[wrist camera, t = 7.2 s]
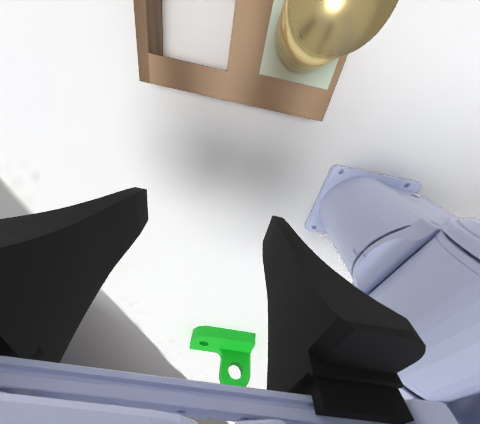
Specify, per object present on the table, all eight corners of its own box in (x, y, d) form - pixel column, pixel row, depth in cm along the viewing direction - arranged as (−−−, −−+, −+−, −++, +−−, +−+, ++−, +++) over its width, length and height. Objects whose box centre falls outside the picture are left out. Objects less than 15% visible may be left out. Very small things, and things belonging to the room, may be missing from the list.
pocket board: (368, -36, 12) (394, -66, 10) (312, 118, 17) (322, 121, 14) (146, -97, 11) (121, -144, 9) (154, 82, 16) (139, 80, 14)
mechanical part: (254, 332, 37) (255, 385, 30) (248, 346, 40) (247, 397, 33) (194, 322, 36) (181, 375, 29) (192, 337, 39) (179, 388, 33)
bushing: (351, -4, 11) (438, -94, 6) (324, 79, 13) (370, 65, 8) (285, -19, 11) (314, -126, 6) (268, 67, 13) (277, 45, 8)
